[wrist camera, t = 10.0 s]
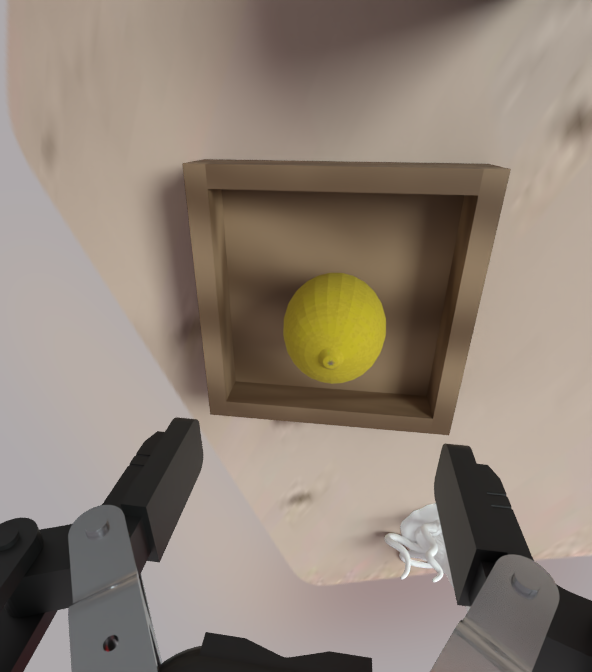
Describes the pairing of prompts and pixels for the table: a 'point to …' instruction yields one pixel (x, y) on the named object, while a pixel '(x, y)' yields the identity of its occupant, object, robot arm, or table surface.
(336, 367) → the lemon
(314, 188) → the tray
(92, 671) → the robot arm
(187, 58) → the table surface
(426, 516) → the white jellyfish figurine
